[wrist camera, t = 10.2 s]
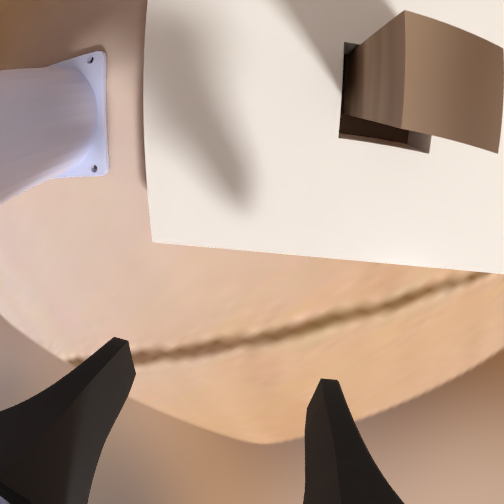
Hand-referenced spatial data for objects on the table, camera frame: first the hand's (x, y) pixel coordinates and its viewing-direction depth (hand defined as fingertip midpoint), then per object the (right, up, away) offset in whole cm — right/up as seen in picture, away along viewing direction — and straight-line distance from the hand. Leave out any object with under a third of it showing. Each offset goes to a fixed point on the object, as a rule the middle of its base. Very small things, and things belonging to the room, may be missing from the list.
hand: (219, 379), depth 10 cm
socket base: (+7, +13, +3) cm, 15 cm away
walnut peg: (+7, +13, +3) cm, 15 cm away
